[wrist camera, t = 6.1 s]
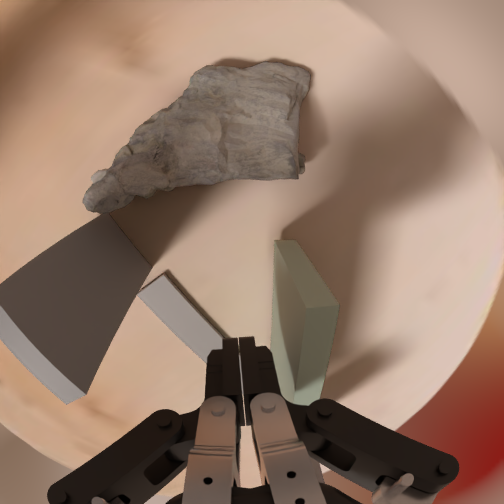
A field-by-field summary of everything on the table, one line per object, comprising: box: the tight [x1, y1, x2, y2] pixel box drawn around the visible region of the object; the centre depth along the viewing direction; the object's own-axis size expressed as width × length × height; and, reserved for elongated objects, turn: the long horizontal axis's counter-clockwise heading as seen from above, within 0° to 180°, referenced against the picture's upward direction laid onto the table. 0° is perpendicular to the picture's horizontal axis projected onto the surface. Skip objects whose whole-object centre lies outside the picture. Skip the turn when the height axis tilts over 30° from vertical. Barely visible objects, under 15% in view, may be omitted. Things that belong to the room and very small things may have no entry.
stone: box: [83, 61, 311, 214], centre depth 12 cm, size 6×12×4 cm, turn 99°
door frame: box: [0, 213, 325, 484], centre depth 14 cm, size 3×24×10 cm, turn 34°
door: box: [270, 240, 340, 406], centre depth 15 cm, size 2×14×7 cm, turn 0°
